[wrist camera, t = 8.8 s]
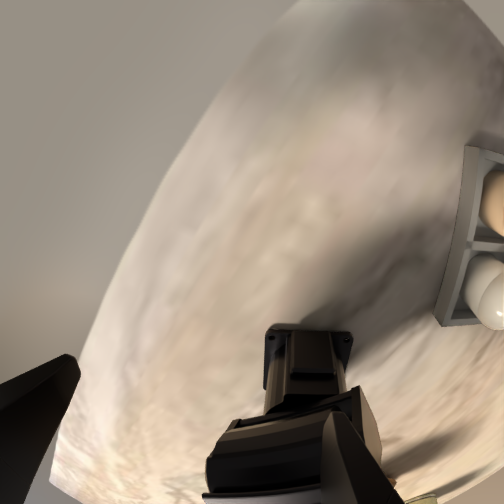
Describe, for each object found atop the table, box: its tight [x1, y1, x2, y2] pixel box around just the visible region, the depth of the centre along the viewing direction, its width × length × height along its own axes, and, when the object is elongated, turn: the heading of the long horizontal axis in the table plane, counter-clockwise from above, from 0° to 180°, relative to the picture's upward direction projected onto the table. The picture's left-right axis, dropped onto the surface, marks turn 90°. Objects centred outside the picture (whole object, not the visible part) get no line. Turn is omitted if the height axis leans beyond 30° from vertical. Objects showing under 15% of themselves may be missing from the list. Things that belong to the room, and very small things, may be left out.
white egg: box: [459, 253, 504, 330], centre depth 15 cm, size 4×4×5 cm
